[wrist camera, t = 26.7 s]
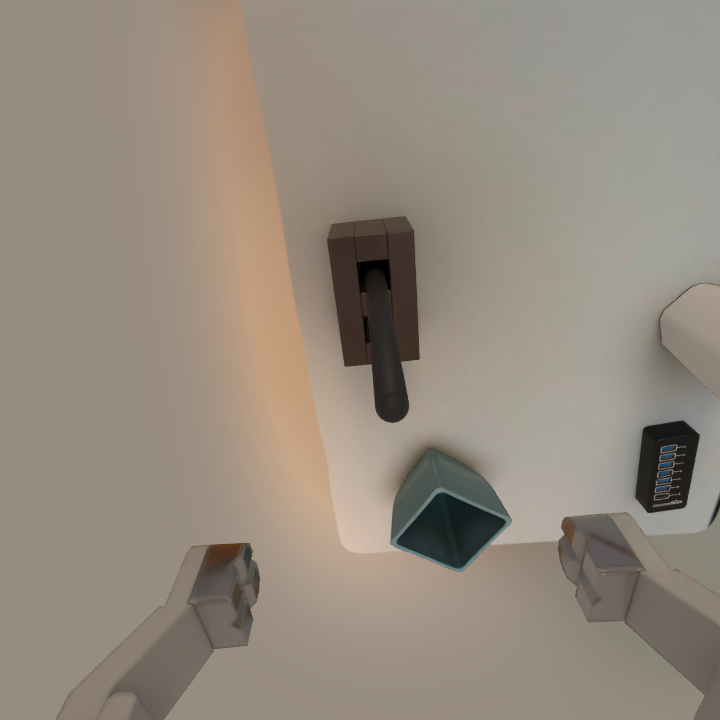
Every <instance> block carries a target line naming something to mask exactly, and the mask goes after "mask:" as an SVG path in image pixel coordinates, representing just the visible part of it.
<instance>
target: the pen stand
mask: <svg viewBox="0 0 720 720" xmlns="http://www.w3.org/2000/svg"><path fill="white" fill-rule="evenodd" d="M327 241H328V249H329V256H330V263H331V271H332V278H333V285H334V293H335V300H336V307H337V315H338V322H339V329H340V336H341V344H342V351H343V358H344V366H345V367H347V366H358V365H367V364H368V365H369V364H372V360H371V348H370V335H369V323H368V317H365V316H368V310H367V298H366V285H365V273H364V272H360V268H359V262H366V261H376V260H385V259H386V269H384V272H385V278H386V283H387V289H388V294H389V299H390V305H391V310H392V315H393V321H394V326H395V332H396V337H397V342H398V348H399V353H400V358H401V361H411V360H419V359H420V356H419V333H418V311H417V288H416V266H415V243H414V230H413V228H412V226H411V225H410V223H409V221H408V220H407V218H406V217H405V216H403V217H394V218H385V219H376V220H366V221H357V222H348V223H339V224H332V226H331V229H330V232H329V235H328V239H327Z"/></svg>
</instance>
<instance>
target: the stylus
mask: <svg viewBox="0 0 720 720" xmlns="http://www.w3.org/2000/svg"><path fill="white" fill-rule="evenodd" d="M364 273H365V285H366V298H367V310H368V323H369V335H370V348H371V360H372V372H373V385H374V397H375V408H376V412H377V414H378V416H379V417H380V418H381V419H383V420H384V421H386V422H391V423H394V422H398V421H400V420H402V419H403V418H404V417H405V416H406V415H407V413H408V410H409V401H408V396H407V391H406V385H405V380H404V374H403V369H402V364H401V358H400V353H399V348H398V342H397V337H396V332H395V326H394V321H393V315H392V310H391V305H390V299H389V294H388V289H387V283H386V278H385V272H384V267H383V262H382V260H376V261H366V262H364Z"/></svg>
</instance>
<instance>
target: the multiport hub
mask: <svg viewBox="0 0 720 720" xmlns="http://www.w3.org/2000/svg"><path fill="white" fill-rule="evenodd" d="M699 437H700V435H699V434H698V433H697V432H696V431H695V430H694V429H693V428H691V427H690V426H689V425H688V424H687V423H686V422H685V421H678V422H672V423H666V424H660V425H654V426H648V427H646V428H644V430H643V438H642V446H641V455H640V464H639V472H638V481H637V489H636V498H637V500H638V501H639V502H640V504H641V505H642V506H643V508H644V509H645V510H646V511H647V512H648V513H654V512H660V511H667V510H674V509H681V508H684V507H685V506H686V505H687V500H688V494H689V489H690V484H691V479H692V474H693V469H694V463H695V458H696V453H697V448H698V443H699Z"/></svg>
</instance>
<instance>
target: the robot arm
mask: <svg viewBox="0 0 720 720" xmlns="http://www.w3.org/2000/svg"><path fill="white" fill-rule="evenodd" d="M561 528H562V530H563V532H564V534H565V535H564V536H563V537H562V538H561V539H560V540H559V548H558V550H559V557H560V562H561V565H562V568H563V571H564V573H565V575H566V577H567V579H569V580H570V581H571V582H572V583H573V584H575V585H576V586H577V590H576V595H575V596H576V598H577V600H578V602H579V604H580V606H581V609H582V611H583V613H584V615H585V617H586V619H587V621H588V622H610V621H625V624H626V625H628V626H629V627H630V628H631V629H632V630H633V631H634V632H635V633H636V634H638V635H639V636H640V637H641V638H642V639H643V640H644V641H645V642H646V643H648V644H649V645H650V646H651V647H652V648H653V649H654V650H655V651H656V652H657V653H659V654H660V655H661V656H662V657H663V658H664V659H665V660H666V661H667V662H669V663H670V664H671V665H672V666H673V667H674V668H675V669H676V670H677V671H679V672H680V673H681V674H682V675H683V676H684V677H685V678H686V679H688V680H689V681H690V682H691V683H692V684H693V685H694V686H695V687H696V688H697V689H698V690H700V691H701V692H702V693H703V694H704V695H705V696H704V699H703V700H702V702H701V704H700V706H699V708H698V710H697V712H696V714H695V717H694V720H720V596H719V595H718V594H716V593H714V592H713V591H711V590H710V589H708V588H707V587H705V586H703V585H702V584H700V583H699V582H697V581H695V580H694V579H692V578H691V577H689V576H687V575H686V574H684V573H683V572H681V571H679V570H678V569H670V568H669V567H668V565H667V564H666V562H665V561H664V560H663V558H662V557H661V556H660V555H659V553H658V552H657V550H656V549H655V547H654V546H653V545H652V544H651V542H650V541H649V540H648V538H647V537H646V535H645V534H644V532H643V531H642V530H641V528H640V527H639V526H638V524H637V523H636V522H635V520H634V519H633V518H632V516H631V515H630V514H628V513H627V512H623V513H611V514H594V515H584V516H573V517H565V518H564V519H563V521H562V527H561ZM252 553H253V551H252V548H251V545H250V543H237V544H218V545H204V546H203V545H202V546H192V547H191V548H190V549H189V550H188V552H187V553H186V556H185V558H184V561H183V563H182V565H181V568H180V570H179V573H178V575H177V577H176V580H175V582H174V585H173V587H172V590H171V592H170V595H169V597H168V599H167V602H166V605H165V606H160V607H158V608H157V609H156V610H155V611H154V612H153V613H152V614H151V615H150V616H149V617H148V618H147V619H146V620H145V621H144V622H143V623H142V624H141V625H139V627H137V628H136V629H135V630H134V631H133V632H132V633H131V634H130V635H129V636H128V637H127V638H126V639H125V640H124V641H123V642H122V643H121V644H120V645H119V646H118V647H117V648H116V649H115V650H113V651H112V652H111V653H110V654H109V655H108V656H107V657H106V658H105V659H104V660H103V661H102V662H101V663H100V664H99V665H98V666H97V667H96V668H95V669H94V670H93V671H92V672H91V673H90V674H88V675H87V676H86V677H85V678H84V679H83V680H82V681H81V682H80V683H79V684H78V685H77V686H76V687H75V688H74V689H73V690H72V691H71V692H70V693H69V694H68V696H67V698H66V700H65V702H64V704H63V706H62V708H61V710H60V712H59V714H58V716H57V717H56V719H55V720H164V719H165V717H166V716H167V715H168V713H169V712H170V711H171V709H172V708H173V707H174V705H175V704H176V702H177V701H178V700H179V698H180V697H181V695H182V694H183V693H184V691H185V690H186V689H187V687H188V686H189V685H190V683H191V682H192V680H193V679H194V678H195V676H196V675H197V674H198V672H199V671H200V670H201V668H202V667H203V665H204V664H205V663H206V661H207V660H208V658H209V657H210V656H211V654H212V653H213V652H214V651H213V649H219V648H229V647H240V646H247V644H248V639H249V635H250V631H251V626H252V621H253V617H252V614H251V611H250V609H251V607H252V606H253V605H254V604H255V603H256V602H257V598H258V593H259V581H260V577H259V569H258V566H257V563H256V562H254V561H253V560H252V559H251V557H252Z"/></svg>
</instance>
